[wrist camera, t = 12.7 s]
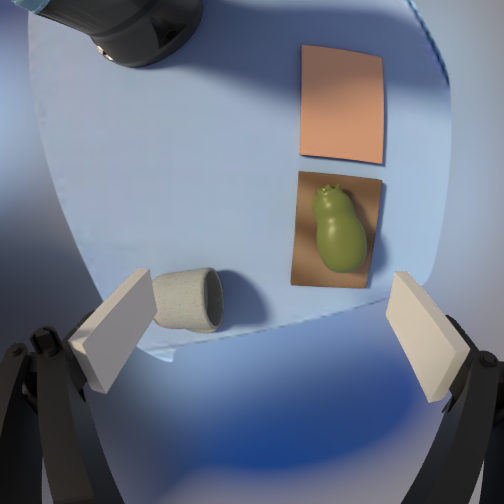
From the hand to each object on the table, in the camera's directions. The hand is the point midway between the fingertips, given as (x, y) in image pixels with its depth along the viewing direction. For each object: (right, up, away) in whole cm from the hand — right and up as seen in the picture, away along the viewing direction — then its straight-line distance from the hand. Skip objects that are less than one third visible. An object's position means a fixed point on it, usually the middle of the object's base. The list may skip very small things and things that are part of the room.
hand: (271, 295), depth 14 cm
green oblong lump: (+9, +6, +18) cm, 21 cm away
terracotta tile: (+10, +20, +14) cm, 26 cm away
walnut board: (+9, +5, +19) cm, 22 cm away
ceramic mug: (-8, -4, +24) cm, 26 cm away
